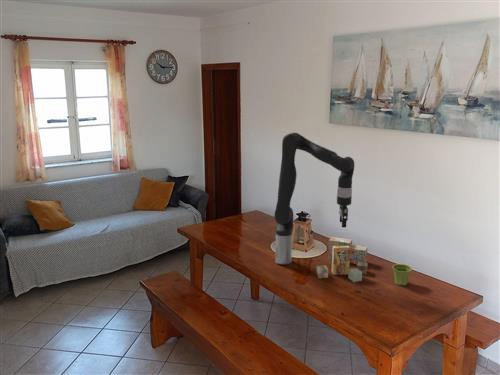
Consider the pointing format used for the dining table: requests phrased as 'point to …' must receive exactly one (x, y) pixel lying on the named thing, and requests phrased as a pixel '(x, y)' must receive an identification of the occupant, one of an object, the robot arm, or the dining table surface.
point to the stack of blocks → (355, 251)
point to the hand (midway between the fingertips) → (342, 224)
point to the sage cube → (355, 275)
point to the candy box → (340, 260)
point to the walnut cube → (362, 267)
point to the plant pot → (401, 273)
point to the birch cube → (322, 271)
